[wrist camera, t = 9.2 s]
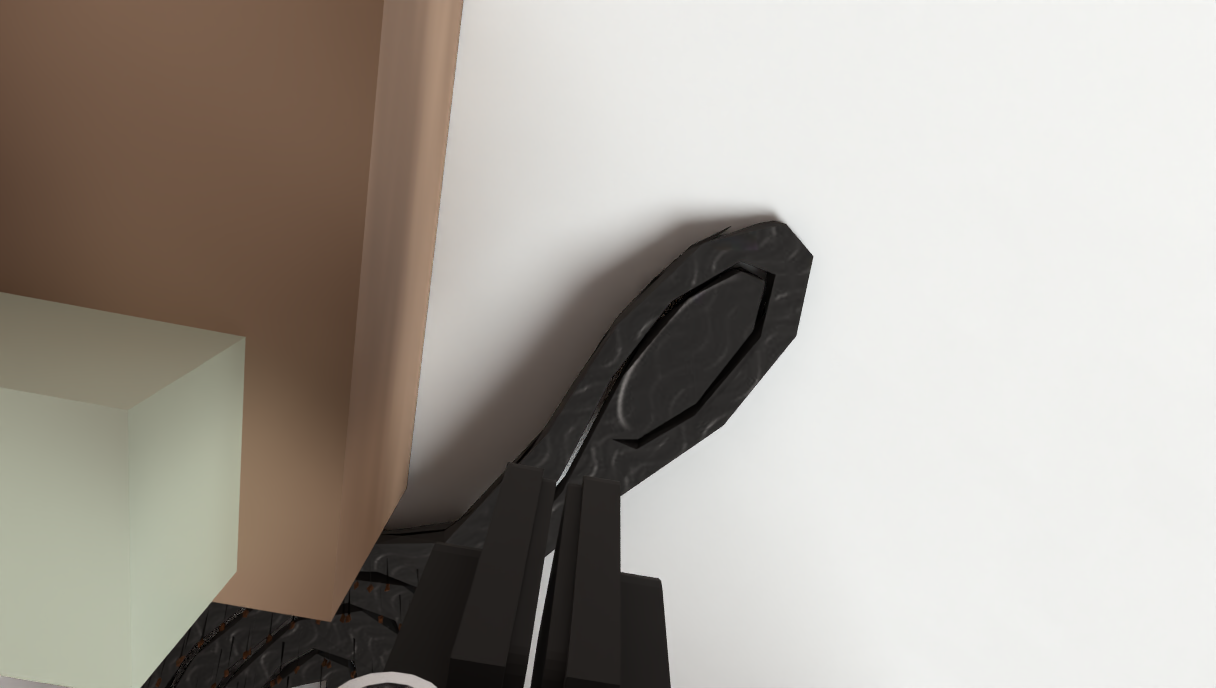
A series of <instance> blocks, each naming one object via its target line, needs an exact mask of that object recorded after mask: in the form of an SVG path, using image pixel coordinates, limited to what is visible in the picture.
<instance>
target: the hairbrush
mask: <svg viewBox="0 0 1216 688" xmlns="http://www.w3.org/2000/svg"><path fill="white" fill-rule="evenodd" d="M730 227H731V226H730ZM728 228H729V227H728ZM728 228H726V229H728ZM726 229H724V230H722V231H720V232H718V233H716V234H714V235H712V236H710V237H708V238H706V239H704V240H702V241H700V242H698V243H696V244H694V245H692V246H691V247H689V248H688V249H687V250H686V251H685V252H684V253H683V254H682V255H680V256H679V257H678V258H677V259H676V260H675V261H674V262H672V263H671V264H670V265H669V266H668V267H667V268H666V269H664V270H663V271H662V272H661V273H660V274H659V275H658V276H657V277H655V278H654V279H653V280H652V281H651V282H650V283H649V284H648V285H647V287H646V288H645V289H644V290H643V291H642V292H641V293H640V294H639V295H638V296H637V297H636V298H635V299H634V300H633V301H632V302H631V303H630V304H629V305H628V307H627V308H626V309H625V310H624V311H623V312H622V313H621V314H620V315H619V316H618V317H617V318H616V320H615V321H614V323H613V324H612V326H611V327H610V329H609V330H608V331H607V333H606V334H605V336H604V337H603V339H602V340H601V342H600V343H599V345H598V347H597V348H596V350H595V351H594V353H593V355H592V356H591V358H590V359H589V361H588V362H587V364H586V365H585V367H584V368H583V370H582V371H581V372H580V374H579V375H578V377H577V378H576V380H575V381H574V383H573V384H572V386H571V388H570V389H569V391H568V392H567V394H566V395H565V397H564V398H563V400H562V402H561V403H560V405H559V406H558V408H557V409H556V411H555V413H554V414H553V416H552V417H551V419H550V420H549V422H548V424H547V425H546V427H545V428H544V430H543V431H542V432H541V433H540V434H539V435H538V436H537V437H536V438H535V439H534V440H533V441H532V442H531V443H530V445H529V446H528V447H527V448H526V449H525V450H524V451H523V452H522V453H521V454H520V455H519V456H518V457H517V458H516V460H515V461H514V462H513V463H515V464H521V465H527V466H533V467H538V468H544V472H543V478H545V479H551V480H556V482H557V481H558V480H559V478H560V476H561V475H562V473H563V471H564V469H565V467H566V465H567V463H568V461H569V459H570V457H571V455H572V453H573V451H574V450H575V448H576V446H577V444H578V442H579V440H580V438H581V436H582V434H583V432H584V430H585V428H586V426H587V424H588V423H589V421H590V419H591V417H592V415H593V413H594V411H595V409H596V407H597V405H598V403H599V401H600V399H601V398H602V396H603V394H604V392H605V390H606V388H607V386H608V384H609V382H610V380H611V378H612V377H613V375H614V374H615V373H616V372H617V370H618V369H619V368H620V367H621V365H622V364H623V363H624V361H625V360H626V359H627V358H628V356H629V355H630V354H631V355H630V357H629V358H628V360H627V362H626V364H625V366H624V368H623V370H622V371H621V373H620V375H619V377H618V379H617V381H616V383H615V384H614V386H613V388H612V390H611V392H610V394H609V395H608V397H607V399H606V401H605V403H604V405H603V406H602V408H601V410H600V412H599V413H598V415H597V417H596V419H595V421H594V423H593V425H592V427H591V429H590V431H589V433H588V434H587V436H586V438H585V440H584V442H583V444H582V446H581V447H580V449H579V451H578V453H577V455H576V457H575V459H574V460H573V462H572V464H571V466H570V468H569V470H568V472H567V473H566V475H565V477H564V478H563V479H562V480H561V481H560V483H559V484H558V485H557V486H556V488H555V494H554V501H553V507H552V513H551V520H550V526H549V532H548V539H547V545H546V551H545V557H546V556H547V555H548V554H549V553H551V552H552V551H553V550H554V549H555V547H556V542H557V537H558V532H559V526H560V521H561V516H562V511H563V506H564V500H565V495H566V490H567V485H568V483H574V484H580V485H582V481H583V477H584V475H585V476H591V477H596V478H602V479H608V480H614V481H619V482H620V496H621V495H623V494H624V493H626V492H627V491H629V490H630V489H632V488H633V487H635V486H636V485H637V484H639V483H640V482H642V481H643V480H645V479H646V478H648V477H649V476H651V475H652V474H653V473H655V472H656V471H658V470H659V469H661V468H662V467H664V466H665V465H667V464H668V463H669V462H671V461H672V460H674V459H675V458H677V457H678V456H680V455H681V454H683V453H684V452H685V451H687V450H688V449H690V448H691V447H693V446H694V445H696V444H697V443H699V442H700V441H701V440H703V439H704V438H706V437H707V436H709V435H710V434H712V433H713V432H715V431H716V430H717V429H719V428H720V427H722V426H723V425H724V424H725V423H726V422H727V420H728V419H729V418H730V417H731V415H732V414H733V413H734V412H735V411H736V409H737V408H738V407H739V406H740V404H741V403H742V402H743V401H744V399H745V398H746V397H747V396H748V395H749V393H750V392H751V391H752V390H753V388H754V387H755V386H756V385H757V383H758V382H759V381H760V380H761V379H762V377H763V376H764V375H765V374H766V372H767V371H768V370H769V369H770V368H771V366H772V365H773V364H774V363H775V361H776V360H777V359H778V358H779V356H780V355H781V354H782V353H783V352H784V350H785V349H786V348H787V347H788V345H789V344H790V343H791V342H792V340H793V339H794V338H795V337H796V335H797V330H798V325H799V321H800V316H801V311H802V307H803V302H804V297H805V293H806V288H807V283H808V279H809V274H810V269H811V265H812V260H813V255H812V254H811V253H810V252H809V251H808V249H807V248H806V247H805V246H804V245H803V243H802V242H801V241H800V240H799V239H798V238H797V236H796V235H795V234H794V233H793V232H792V230H791V229H790V228H789V227H788V226H787V225H786V224H784V223H780V222H777V221H770V222H763V223H758V224H756V225H753V226H750V227H747V228H744V229H742V230H739V231H736V232H733V233H730V234H727V235H725V236H722V237H719V238H716V239H713V238H715V237H716V236H718V235H719V234H721V233H722V232H723V231H725V230H726ZM712 239H713V240H712ZM710 240H711V241H710ZM740 261H741V262H744V263H746V264H749V265H752V266H754V267H757V268H760V269H762V270H765V271H766V289H765V292H764V295H763V298H762V301H761V303H760V300H761V296H762V292H763V288H764V284H765V281H764V280H762V279H761V278H760V277H758V276H757V275H753V274H752V273H751V274H749V273H750V272H749V273H746V272H742V271H738V270H736V269H739V268H742V267H739V268H736V269H730V270H728V271H725V272H723V271H724V270H726V269H728V268H729V267H731V266H733V265H735V264H736V263H738V262H740ZM744 270H745V269H744ZM746 271H747V270H746ZM690 290H691V291H690ZM688 291H690V292H689V293H688V294H687V295H686V296H685V297H684V298H683V299H682V300H681V301H680V302H679V303H677V304H676V305H675V306H674V307H673V308H672V309H671V310H670V311H669V312H668V313H667V314H666V315H665V316H664V317H663V318H661V319H660V320H658V321H657V322H656V320H657V319H658V318H659V317H660V315H661V314H662V313H663V311H664V310H665V309H666V308H667V306H668V305H669V304H670V302H671V301H673V300H674V299H676V298H678V297H680V296H681V295H683V294H685V293H686V292H688ZM765 302H766V308H765V314H764V315H763V317H762V313H763V309H764V306H765ZM759 304H760V306H759ZM758 308H759V309H758ZM655 322H656V323H655ZM653 324H654V325H653ZM754 324H755V325H754ZM651 327H652V328H651ZM650 328H651V329H650ZM649 329H650V330H649ZM631 352H632V353H631ZM504 474H505V471H504V472H503V473H502V475H501V476H500V477H499V478H498V479H497V480H496V481H495V482H494V483H493V484H492V485H491V486H490V487H489V488H488V489H487V491H486V492H485V493H484V494H483V495H482V496H481V497H480V498H479V499H478V500H477V501H476V502H475V503H474V504H473V506H472V507H471V508H470V509H469V510H468V511H467V512H466V513H465V514H464V515H463V516H462V517H461V518H460V519H459V520H458V521H455V522H448V523H441V524H434V525H428V526H421V527H414V528H407V529H400V530H390V531H382V532H381V534H380V536H379V538H378V539H377V541H376V543H375V545H374V546H373V548H372V550H371V552H370V554H369V555H368V557H367V559H366V561H365V562H364V564H363V566H362V568H361V569H360V571H359V573H358V575H357V576H356V578H355V580H354V582H353V583H352V585H351V587H350V589H349V591H348V592H347V594H346V596H345V598H344V599H343V601H342V603H341V605H340V606H339V608H338V610H337V612H336V613H335V615H334V617H333V619H332V621H331V622H328V621H322V620H317V619H311V618H305V617H298V618H297V619H295V620H294V617H295V616H293V618H292V622H291V623H289V624H288V625H286V626H285V627H283V628H282V629H281V630H279V631H278V632H277V633H276V634H275V635H273V636H271V633H272V632H273V631H274V630H276V629H277V628H278V627H279V626H280V625H282V624H283V623H284V622H285V621H286V620H287V619H289V618H290V617H291V616H292V615H287V614H281V613H276V612H270V611H264V610H258V609H252V608H246V610H244V611H243V613H241V614H240V615H239V616H237V617H236V618H235V619H233V620H232V621H231V622H229V623H228V624H227V625H225V623H224V622H225V621H226V620H227V619H228V618H230V617H231V616H232V615H233V614H235V613H236V612H237V611H239V610H240V609H241V608H242V607H240V606H234V605H229V604H223V603H217V602H211V603H210V604H209V605H208V607H207V608H206V609H205V610H204V611H203V613H202V614H201V615H200V616H199V617H198V619H197V620H196V621H195V622H194V624H193V625H192V626H191V627H190V628H189V630H188V631H187V632H186V633H185V634H184V636H183V637H182V638H181V639H180V640H179V642H178V643H177V644H176V645H175V646H174V648H173V649H172V650H171V651H170V653H169V654H168V655H167V656H166V657H165V659H164V660H163V661H162V662H161V663H160V665H159V666H158V667H157V668H156V669H155V671H154V672H153V673H152V674H151V676H150V677H149V678H148V679H147V680H146V682H145V683H144V684H143V685H142V686H141V688H170V686H171V684H172V682H173V679H174V677H175V675H176V673H177V670H178V668H179V666H180V665H181V664H182V662H183V661H184V659H185V658H186V656H187V655H188V654H189V652H190V651H191V649H192V648H193V647H194V646H195V645H196V644H197V645H198V648H200V646H201V645H202V644H203V643H204V640H203V638H204V637H205V636H207V635H208V634H209V633H210V632H212V631H213V630H214V629H216V628H217V627H218V626H219V625H221V626H220V627H219V628H220V629H219V630H220V631H219V632H218V633H217V634H216V635H215V636H214V637H213V638H212V639H211V640H210V641H209V643H208V644H207V645H206V646H205V647H204V648H203V649H202V650H201V651H200V652H199V653H198V654H197V655H196V656H195V657H194V659H193V660H192V661H191V662H190V664H189V665H188V666H187V668H186V670H185V671H184V673H183V675H182V676H181V678H180V680H179V681H178V683H177V685H176V686H175V688H217V687H218V685H219V684H220V682H221V680H222V678H223V677H224V678H225V677H227V676H228V675H229V670H228V669H229V668H230V667H231V666H233V665H234V664H235V663H236V662H237V661H239V660H240V659H241V658H242V657H243V660H244V659H247V656H248V655H251V650H252V649H253V648H254V647H255V646H256V645H258V644H259V643H260V642H261V641H262V640H264V639H265V638H266V637H267V636H268V637H267V641H266V643H265V644H264V645H263V646H262V647H261V648H260V649H259V650H257V651H256V652H255V653H254V654H253V655H252V656H251V657H250V658H249V659H248V660H247V661H246V662H245V663H244V664H243V665H242V666H241V667H240V668H239V669H238V671H237V672H236V673H235V674H234V676H233V677H232V678H231V679H230V681H229V682H228V683H227V684H226V686H225V687H224V688H262V687H263V686H264V685H265V684H266V682H267V681H268V680H269V679H270V677H271V676H272V675H273V674H275V673H274V672H275V671H276V670H277V669H278V667H279V666H280V665H282V664H284V663H286V662H287V661H289V660H291V659H293V658H295V657H297V656H298V657H299V655H301V654H303V653H305V652H307V651H309V650H311V649H313V648H315V649H314V650H312V651H311V652H309V653H307V654H305V655H303V656H302V657H300V658H298V659H296V660H295V661H293V662H291V663H289V664H288V665H286V666H285V667H283V669H282V670H281V666H280V673H279V674H278V675H277V677H276V678H275V677H274V678H275V679H273V680H271V681H270V686H269V687H268V688H292V687H296V686H300V685H305V684H310V683H315V682H319V681H320V688H321V681H324V680H327V682H326V688H338V687H339V686H341V685H343V684H344V683H346V682H348V681H349V680H352V679H355V678H358V677H361V676H364V675H368V674H371V673H383V670H384V668H385V665H386V663H387V660H388V658H389V655H390V653H391V650H392V648H393V645H394V643H395V640H396V638H397V635H398V633H399V630H400V628H401V625H402V623H403V620H404V618H405V615H406V613H407V610H408V608H409V605H410V603H411V600H412V598H413V595H414V593H415V590H416V588H417V586H418V583H419V581H420V578H421V576H422V573H423V571H424V568H425V566H426V563H427V561H428V558H429V556H430V553H431V551H432V548H433V546H434V544H435V543H436V542H443V543H449V544H455V545H461V546H467V547H473V548H479V549H483V545H484V542H485V538H486V535H487V532H488V528H489V525H490V521H491V518H492V515H493V511H494V508H495V504H496V501H497V498H498V494H499V491H500V487H501V484H502V481H503V477H504ZM351 661H354V662H355V665H356V670H355V668H354V666H353V664H352V662H351ZM356 672H357V673H356Z"/></svg>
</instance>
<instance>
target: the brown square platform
mask: <svg viewBox="0 0 1216 688" xmlns="http://www.w3.org/2000/svg"><path fill="white" fill-rule="evenodd" d="M462 8H463V0H0V292H3V293H9V294H14V295H19V296H25V297H30V298H36V299H41V300H47V301H52V302H58V303H63V304H69V305H74V306H80V307H85V308H90V309H96V310H101V311H107V312H112V313H118V314H123V315H129V316H134V317H140V318H145V319H150V320H156V321H161V322H167V323H172V324H178V325H183V326H189V327H194V328H200V329H205V330H211V331H216V332H221V333H227V334H232V335H238V336H243V337H246V339H245V366H244V392H243V419H242V445H241V472H240V498H239V525H238V551H237V572H236V573H235V574H234V575H233V576H232V578H231V579H230V580H229V581H228V582H227V584H226V585H225V586H224V587H223V588H222V590H221V591H220V592H219V593H218V594H217V596H216V597H215V598H214V599H213V601H212V602H217V603H223V604H229V605H234V606H240V607H246V608H252V609H258V610H264V611H270V612H276V613H281V614H287V615H293V616H299V617H305V618H311V619H317V620H322V621H328V622H331V621H332V619H333V617H334V615H335V613H336V612H337V610H338V608H339V606H340V605H341V603H342V601H343V599H344V598H345V596H346V594H347V592H348V591H349V589H350V587H351V585H352V583H353V582H354V580H355V578H356V576H357V575H358V573H359V571H360V569H361V568H362V566H363V564H364V562H365V561H366V559H367V557H368V555H369V554H370V552H371V550H372V548H373V546H374V545H375V543H376V541H377V539H378V538H379V536H380V534H381V532H382V531H383V529H384V527H385V525H386V524H387V522H388V520H389V518H390V516H391V515H392V513H393V511H394V509H395V508H396V506H397V504H398V502H399V501H400V499H401V497H402V495H403V494H404V492H405V490H406V488H407V481H408V472H409V464H410V455H411V446H412V438H413V429H414V421H415V412H416V403H417V395H418V386H419V378H420V369H421V360H422V352H423V343H424V335H425V326H426V317H427V309H428V300H429V292H430V283H431V274H432V266H433V257H434V249H435V240H436V231H437V223H438V214H439V206H440V197H441V188H442V180H443V171H444V163H445V154H446V145H447V137H448V128H449V120H450V111H451V102H452V94H453V85H454V77H455V68H456V59H457V51H458V42H459V34H460V25H461V16H462Z"/></svg>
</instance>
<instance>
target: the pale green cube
mask: <svg viewBox="0 0 1216 688" xmlns="http://www.w3.org/2000/svg"><path fill="white" fill-rule="evenodd" d="M245 339H246V337H243V336H238V335H232V334H227V333H221V332H216V331H211V330H205V329H200V328H194V327H189V326H183V325H178V324H172V323H167V322H161V321H156V320H150V319H145V318H140V317H134V316H129V315H123V314H118V313H112V312H107V311H101V310H96V309H90V308H85V307H80V306H74V305H69V304H63V303H58V302H52V301H47V300H41V299H36V298H30V297H25V296H19V295H14V294H9V293H3V292H0V676H4V677H10V678H16V679H22V680H28V681H34V682H40V683H46V684H52V685H58V686H64V687H71V688H141V686H142V685H143V684H144V683H145V682H146V680H147V679H148V678H149V677H150V676H151V674H152V673H153V672H154V671H155V669H156V668H157V667H158V666H159V665H160V663H161V662H162V661H163V660H164V659H165V657H166V656H167V655H168V654H169V653H170V651H171V650H172V649H173V648H174V646H175V645H176V644H177V643H178V642H179V640H180V639H181V638H182V637H183V636H184V634H185V633H186V632H187V631H188V630H189V628H190V627H191V626H192V625H193V624H194V622H195V621H196V620H197V619H198V617H199V616H200V615H201V614H202V613H203V611H204V610H205V609H206V608H207V607H208V605H209V604H210V603H211V602H212V601H213V599H214V598H215V597H216V596H217V594H218V593H219V592H220V591H221V590H222V588H223V587H224V586H225V585H226V584H227V582H228V581H229V580H230V579H231V578H232V576H233V575H234V574H235V573H236V572H237V551H238V525H239V498H240V472H241V445H242V419H243V392H244V366H245Z"/></svg>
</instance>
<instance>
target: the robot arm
mask: <svg viewBox="0 0 1216 688" xmlns="http://www.w3.org/2000/svg"><path fill="white" fill-rule="evenodd" d="M543 472H544V468H538V467H533V466H527V465H521V464H515V463H510V462H508V464H507V467H506V470H505V474H504V477H503V481H502V484H501V487H500V491H499V494H498V498H497V501H496V504H495V508H494V511H493V515H492V518H491V521H490V525H489V528H488V532H487V535H486V538H485V542H484V545H483V549H479V548H473V547H467V546H461V545H455V544H449V543H443V542H436V543H435V544H434V546H433V548H432V551H431V553H430V556H429V558H428V561H427V563H426V566H425V568H424V571H423V573H422V576H421V578H420V581H419V583H418V586H417V588H416V590H415V593H414V595H413V598H412V600H411V603H410V605H409V608H408V610H407V613H406V615H405V618H404V620H403V623H402V625H401V628H400V630H399V633H398V635H397V638H396V640H395V643H394V645H393V648H392V650H391V653H390V655H389V658H388V660H387V663H386V665H385V668H384V670H383V673H371V674H368V675H364V676H361V677H358V678H355V679H352V680H349V681H348V682H346V683H344V684H343V685H341V686H339V687H338V688H523V687H524V682H525V676H526V670H527V664H528V659H529V652H530V646H531V640H532V634H533V627H534V621H535V615H536V608H537V602H538V596H539V589H540V583H541V577H542V570H543V564H544V558H545V551H546V545H547V539H548V532H549V526H550V520H551V513H552V507H553V501H554V494H555V488H556V480H551V479H545V478H543ZM531 688H671V685H670V673H669V662H668V650H667V638H666V626H665V615H664V603H663V591H662V584H661V580H660V579H659V578H653V577H647V576H641V575H635V574H629V573H623V572H620V482H619V481H614V480H608V479H602V478H596V477H591V476H585V475H584V477H583V481H582V485H580V484H574V483H568V485H567V490H566V495H565V500H564V506H563V511H562V516H561V521H560V526H559V532H558V537H557V542H556V547H555V552H554V558H553V563H552V568H551V573H550V578H549V584H548V589H547V594H546V599H545V604H544V610H543V615H542V620H541V625H540V631H539V636H538V642H537V648H536V654H535V661H534V667H533V674H532V681H531Z"/></svg>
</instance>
